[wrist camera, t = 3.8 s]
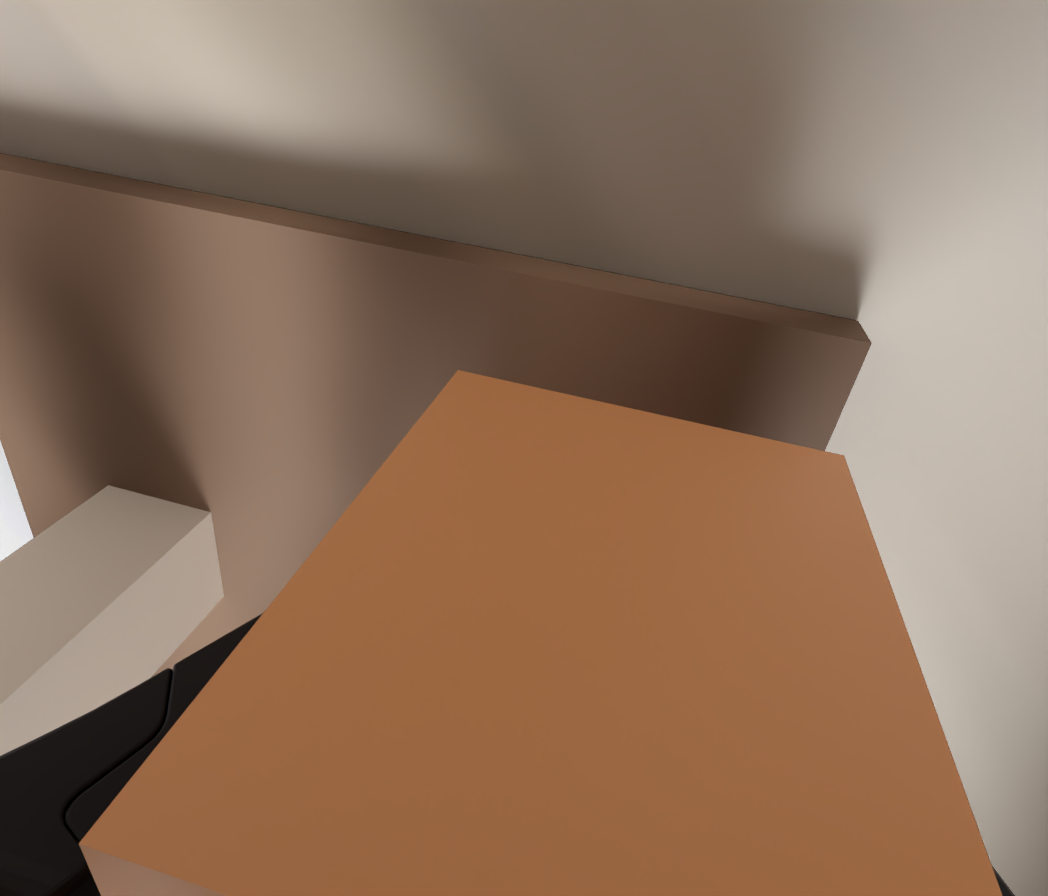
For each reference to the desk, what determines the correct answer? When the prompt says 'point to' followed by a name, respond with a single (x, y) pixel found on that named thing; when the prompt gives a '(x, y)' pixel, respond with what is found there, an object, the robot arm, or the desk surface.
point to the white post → (99, 606)
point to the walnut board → (329, 357)
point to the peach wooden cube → (564, 685)
